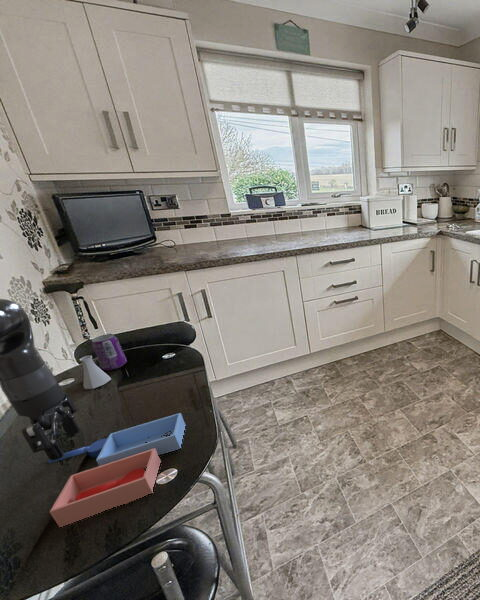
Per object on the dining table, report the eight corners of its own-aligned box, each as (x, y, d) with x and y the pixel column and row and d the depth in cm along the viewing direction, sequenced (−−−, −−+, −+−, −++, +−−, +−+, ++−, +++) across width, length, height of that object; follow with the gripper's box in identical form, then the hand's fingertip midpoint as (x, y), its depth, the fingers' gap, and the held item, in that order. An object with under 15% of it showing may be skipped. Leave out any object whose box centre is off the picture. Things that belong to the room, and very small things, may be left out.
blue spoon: (45, 473, 75) (41, 466, 74) (55, 459, 79) (50, 452, 78) (109, 453, 80) (105, 446, 79) (115, 441, 83) (111, 434, 83)
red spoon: (73, 512, 65) (69, 504, 64) (83, 494, 68) (78, 487, 68) (145, 486, 69) (141, 479, 68) (150, 471, 73) (146, 464, 72)
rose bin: (60, 528, 62) (49, 512, 61) (79, 490, 70) (70, 475, 68) (153, 494, 68) (145, 478, 66) (161, 462, 75) (155, 447, 74)
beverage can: (131, 360, 124) (119, 331, 120) (120, 370, 118) (107, 340, 113) (111, 362, 123) (98, 334, 119) (98, 373, 117) (84, 343, 112)
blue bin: (104, 475, 73) (96, 460, 72) (117, 448, 81) (109, 433, 79) (180, 449, 79) (174, 435, 77) (186, 426, 87) (180, 412, 85)
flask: (91, 391, 106) (78, 365, 102) (78, 388, 108) (65, 362, 105) (116, 378, 112) (104, 353, 108) (103, 375, 115) (92, 351, 111)
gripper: (27, 377, 76) (60, 431, 82) (-13, 413, 64) (29, 474, 70) (68, 367, 79) (97, 420, 85) (37, 400, 67) (73, 460, 72)
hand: (66, 445), depth 77 cm, fingers open, 8 cm apart
